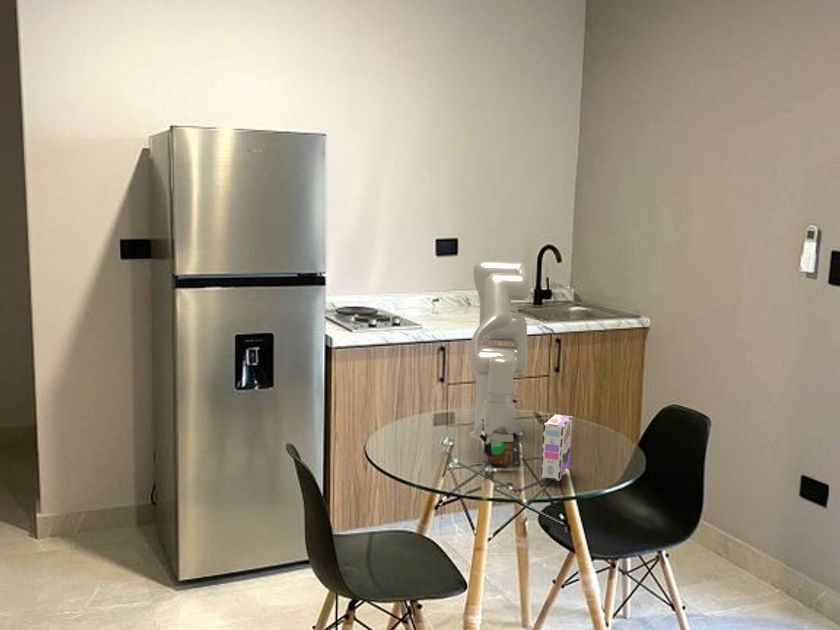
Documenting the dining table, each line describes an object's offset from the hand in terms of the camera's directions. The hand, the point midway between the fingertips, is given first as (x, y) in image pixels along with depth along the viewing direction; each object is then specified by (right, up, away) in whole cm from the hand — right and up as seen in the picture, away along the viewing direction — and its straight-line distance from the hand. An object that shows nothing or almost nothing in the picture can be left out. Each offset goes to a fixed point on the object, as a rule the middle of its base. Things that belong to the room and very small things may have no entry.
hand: (497, 454), depth 261 cm
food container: (-1, -2, 0) cm, 3 cm away
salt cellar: (-1, -1, +17) cm, 18 cm away
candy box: (+17, -5, -7) cm, 19 cm away
